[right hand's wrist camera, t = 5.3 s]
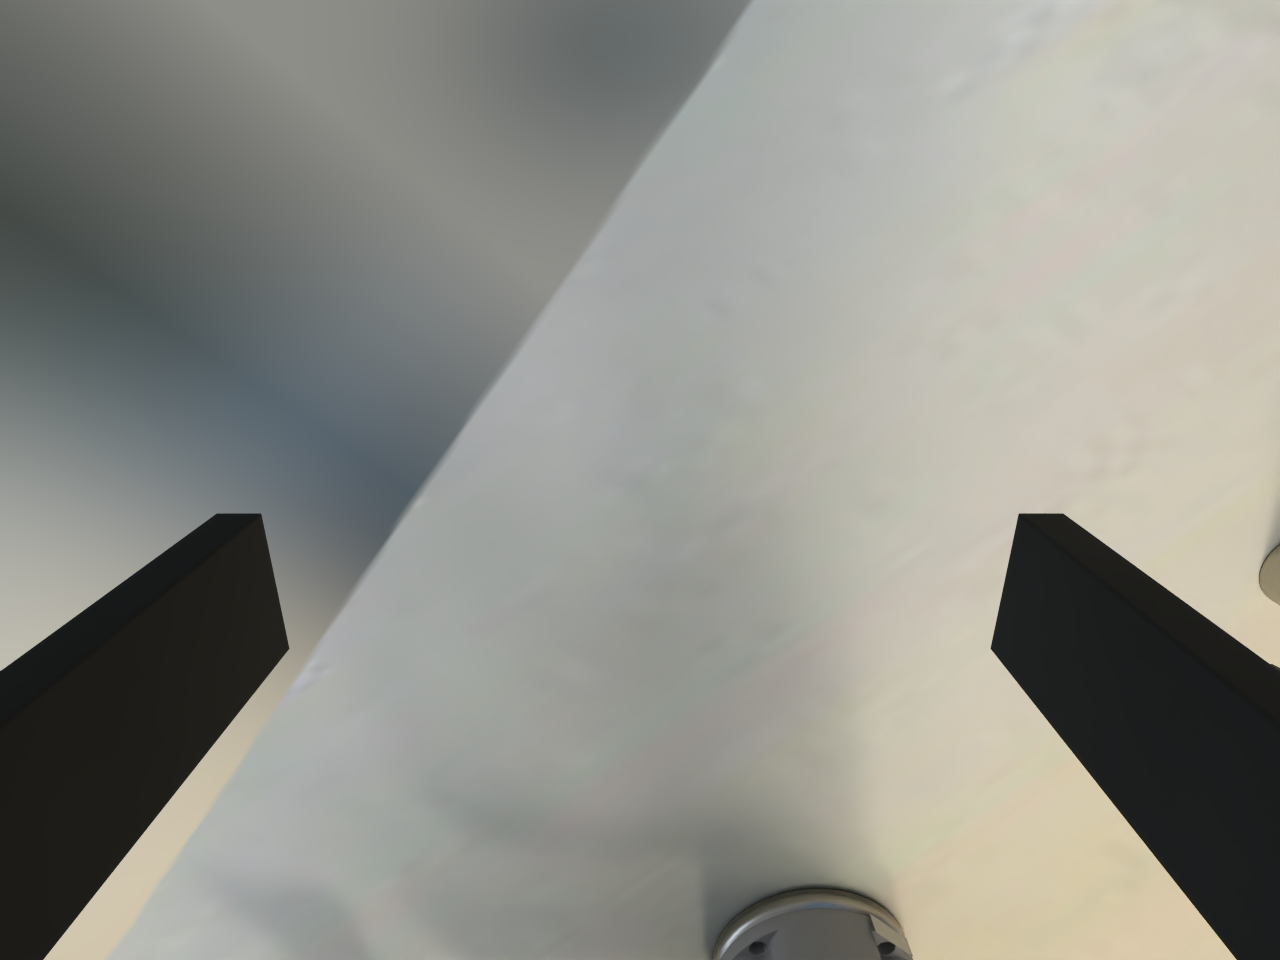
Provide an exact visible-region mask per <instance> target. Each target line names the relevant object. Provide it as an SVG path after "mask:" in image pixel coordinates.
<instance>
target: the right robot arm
mask: <svg viewBox="0 0 1280 960" xmlns="http://www.w3.org/2000/svg"><path fill="white" fill-rule="evenodd" d="M288 650H289V645H288V640H287V635H286V631H285V626H284V621H283V616H282V611H281V607H280V602H279V597H278V592H277V587H276V583H275V578H274V573H273V568H272V564H271V559H270V554H269V549H268V544H267V540H266V535H265V530H264V525H263V520H262V515H261V514H216V515H214V516H213V517H212V518H210V519H209V520H208V521H206V522H205V523H203V524H202V525H201V526H199V527H198V528H197V529H195V530H194V531H192V532H191V533H190V534H188V535H187V536H186V537H184V538H183V539H181V540H180V541H179V542H177V543H176V544H175V545H173V546H172V547H170V548H169V549H168V550H166V551H165V552H164V553H162V554H161V555H159V556H158V557H157V558H155V559H154V560H153V561H151V562H150V563H148V564H147V565H146V566H144V567H143V568H142V569H140V570H139V571H137V572H136V573H135V574H133V575H132V576H131V577H129V578H128V579H127V580H125V581H124V582H122V583H121V584H120V585H118V586H117V587H116V588H114V589H113V590H111V591H110V592H109V593H107V594H106V595H105V596H103V597H102V598H101V599H99V600H98V601H96V602H95V603H94V604H92V605H91V606H89V607H88V608H87V609H85V610H84V611H83V612H81V613H80V614H79V615H77V616H76V617H74V618H73V619H72V620H70V621H69V622H67V623H66V624H65V625H63V626H62V627H61V628H59V629H58V630H57V631H55V632H54V633H52V634H51V635H50V636H48V637H47V638H46V639H44V640H43V641H41V642H40V643H39V644H37V645H36V646H35V647H33V648H32V649H30V650H29V651H28V652H26V653H25V654H24V655H22V656H21V657H20V658H18V659H17V660H15V661H14V662H13V663H11V664H10V665H8V666H7V667H6V668H4V669H3V670H1V671H0V960H43V959H44V958H45V957H46V955H47V954H48V953H49V952H50V950H51V949H52V948H53V947H54V945H55V944H56V943H57V941H58V940H59V939H60V938H61V936H62V935H63V934H64V933H65V931H66V930H67V929H68V928H69V926H70V925H71V924H72V923H73V921H74V920H75V919H76V918H77V916H78V915H79V914H80V912H81V911H82V910H83V909H84V907H85V906H86V905H87V904H88V902H89V901H90V900H91V899H92V897H93V896H94V895H95V893H96V892H97V891H98V890H99V888H100V887H101V886H102V885H103V883H104V882H105V881H106V880H107V878H108V877H109V876H110V875H111V873H112V872H113V871H114V870H115V868H116V867H117V866H118V864H119V863H120V862H121V861H122V859H123V858H124V857H125V856H126V854H127V853H128V852H129V851H130V849H131V848H132V847H133V845H134V844H135V843H136V842H137V840H138V839H139V838H140V837H141V835H142V834H143V833H144V831H145V830H146V829H147V828H148V826H149V825H150V824H151V823H152V821H153V820H154V819H155V818H156V816H157V815H158V814H159V813H160V811H161V810H162V809H163V807H164V806H165V805H166V804H167V803H168V801H169V800H170V799H171V797H172V796H173V795H174V794H175V792H176V791H177V790H178V789H179V787H180V786H181V785H182V784H183V782H184V781H185V780H186V779H187V777H188V776H189V775H190V773H191V772H192V771H193V770H194V768H195V767H196V766H197V765H198V763H199V762H200V761H201V760H202V758H203V757H204V756H205V754H206V753H207V752H208V751H209V749H210V748H211V747H212V746H213V744H214V743H215V742H216V741H217V739H218V738H219V737H220V736H221V734H222V733H223V732H224V730H225V729H226V728H227V727H228V725H229V724H230V723H231V722H232V720H233V719H234V718H235V717H236V715H237V714H238V713H239V712H240V710H241V709H242V708H243V706H244V705H245V704H246V703H247V701H248V700H249V699H250V698H251V696H252V695H253V694H254V693H255V691H256V690H257V689H258V688H259V686H260V685H261V684H262V682H263V681H264V680H265V679H266V677H267V676H268V675H269V674H270V672H271V671H272V670H273V669H274V667H275V666H276V665H277V664H278V662H279V661H280V660H281V658H282V657H283V656H284V655H285V653H286V652H287V651H288ZM991 650H992V651H993V652H994V653H995V655H996V656H997V657H998V658H999V660H1000V661H1001V662H1002V664H1003V665H1004V666H1005V667H1006V669H1007V670H1008V671H1009V672H1010V674H1011V675H1012V676H1013V677H1014V679H1015V680H1016V681H1017V682H1018V684H1019V685H1020V686H1021V688H1022V689H1023V690H1024V691H1025V693H1026V694H1027V695H1028V696H1029V698H1030V699H1031V700H1032V701H1033V703H1034V704H1035V705H1036V706H1037V708H1038V709H1039V710H1040V712H1041V713H1042V714H1043V715H1044V717H1045V718H1046V719H1047V720H1048V722H1049V723H1050V724H1051V725H1052V727H1053V728H1054V729H1055V730H1056V732H1057V733H1058V734H1059V736H1060V737H1061V738H1062V739H1063V741H1064V742H1065V743H1066V744H1067V746H1068V747H1069V748H1070V749H1071V751H1072V752H1073V753H1074V754H1075V756H1076V757H1077V758H1078V760H1079V761H1080V762H1081V763H1082V765H1083V766H1084V767H1085V768H1086V770H1087V771H1088V772H1089V773H1090V775H1091V776H1092V777H1093V779H1094V780H1095V781H1096V782H1097V784H1098V785H1099V786H1100V787H1101V789H1102V790H1103V791H1104V792H1105V794H1106V795H1107V796H1108V797H1109V799H1110V800H1111V801H1112V803H1113V804H1114V805H1115V806H1116V808H1117V809H1118V810H1119V811H1120V813H1121V814H1122V815H1123V816H1124V818H1125V819H1126V820H1127V821H1128V823H1129V824H1130V825H1131V827H1132V828H1133V829H1134V830H1135V832H1136V833H1137V834H1138V835H1139V837H1140V838H1141V839H1142V840H1143V842H1144V843H1145V844H1146V845H1147V847H1148V848H1149V849H1150V851H1151V852H1152V853H1153V854H1154V856H1155V857H1156V858H1157V859H1158V861H1159V862H1160V863H1161V864H1162V866H1163V867H1164V868H1165V870H1166V871H1167V872H1168V873H1169V875H1170V876H1171V877H1172V878H1173V880H1174V881H1175V882H1176V883H1177V885H1178V886H1179V887H1180V888H1181V890H1182V891H1183V892H1184V894H1185V895H1186V896H1187V897H1188V899H1189V900H1190V901H1191V902H1192V904H1193V905H1194V906H1195V907H1196V909H1197V910H1198V911H1199V912H1200V914H1201V915H1202V916H1203V918H1204V919H1205V920H1206V921H1207V923H1208V924H1209V925H1210V926H1211V928H1212V929H1213V930H1214V931H1215V933H1216V934H1217V935H1218V936H1219V938H1220V939H1221V940H1222V942H1223V943H1224V944H1225V945H1226V947H1227V948H1228V949H1229V950H1230V952H1231V953H1232V954H1233V955H1234V957H1235V958H1236V959H1237V960H1280V668H1279V667H1277V666H1275V665H1273V664H1269V663H1267V662H1266V661H1265V660H1263V659H1262V658H1261V657H1259V656H1258V655H1256V654H1255V653H1254V652H1252V651H1251V650H1250V649H1248V648H1247V647H1245V646H1244V645H1243V644H1241V643H1240V642H1239V641H1237V640H1236V639H1234V638H1233V637H1232V636H1230V635H1229V634H1228V633H1226V632H1225V631H1223V630H1222V629H1221V628H1219V627H1218V626H1217V625H1215V624H1214V623H1213V622H1211V621H1210V620H1208V619H1207V618H1206V617H1204V616H1203V615H1202V614H1200V613H1199V612H1197V611H1196V610H1195V609H1193V608H1192V607H1191V606H1189V605H1188V604H1186V603H1185V602H1184V601H1182V600H1181V599H1180V598H1178V597H1177V596H1175V595H1174V594H1173V593H1171V592H1170V591H1169V590H1167V589H1166V588H1164V587H1163V586H1162V585H1160V584H1159V583H1158V582H1156V581H1155V580H1153V579H1152V578H1151V577H1149V576H1148V575H1147V574H1145V573H1144V572H1143V571H1141V570H1140V569H1138V568H1137V567H1136V566H1134V565H1133V564H1132V563H1130V562H1129V561H1127V560H1126V559H1125V558H1123V557H1122V556H1121V555H1119V554H1118V553H1116V552H1115V551H1114V550H1112V549H1111V548H1110V547H1108V546H1107V545H1105V544H1104V543H1103V542H1101V541H1100V540H1099V539H1097V538H1096V537H1094V536H1093V535H1092V534H1090V533H1089V532H1088V531H1086V530H1085V529H1083V528H1082V527H1081V526H1079V525H1078V524H1077V523H1075V522H1074V521H1073V520H1071V519H1070V518H1068V517H1067V516H1066V515H1064V514H1019V515H1018V520H1017V525H1016V530H1015V535H1014V539H1013V544H1012V549H1011V554H1010V559H1009V563H1008V568H1007V573H1006V578H1005V583H1004V587H1003V592H1002V597H1001V602H1000V607H999V611H998V616H997V621H996V626H995V631H994V635H993V640H992V645H991ZM912 957H913V956H912V953H911V950H910V947H909V944H908V942H907V939H906V938H905V936H904V933H903V931H902V929H901V927H900V925H899V924H898V922H897V921H896V920H895V919H894V917H893V916H892V915H891V914H890V913H889V912H888V911H886V910H885V909H884V908H882V907H881V906H880V905H878V904H876V903H875V902H873V901H871V900H869V899H867V898H865V897H862V896H859V895H856V894H853V893H849V892H845V891H839V890H831V889H804V890H796V891H791V892H786V893H782V894H778V895H775V896H772V897H769V898H767V899H764V900H762V901H760V902H758V903H756V904H754V905H752V906H750V907H749V908H747V909H745V910H744V911H743V912H741V913H740V914H739V915H737V916H736V917H735V918H734V919H733V920H732V921H731V922H730V923H729V924H728V925H727V926H726V927H725V929H724V930H723V931H722V933H721V935H720V936H719V938H718V940H717V942H716V945H715V948H714V952H713V959H712V960H913V959H912Z"/></svg>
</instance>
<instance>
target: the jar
mask: <svg viewBox="0 0 1280 960" xmlns="http://www.w3.org/2000/svg"><path fill="white" fill-rule="evenodd" d="M1260 586H1261V589H1262V591H1263V592H1264V594H1265V595H1266V596H1267V597H1268V598H1269V599H1271V600H1272V601H1274V602H1275V603H1277V604H1279V605H1280V545H1279V546H1278V547H1277V548H1276V549H1274V550H1273V551H1272V553H1271V554H1270V555H1269V556H1268V557H1267V559H1266V560H1265V562H1264V564H1263V566H1262V569H1261V572H1260Z"/></svg>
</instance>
